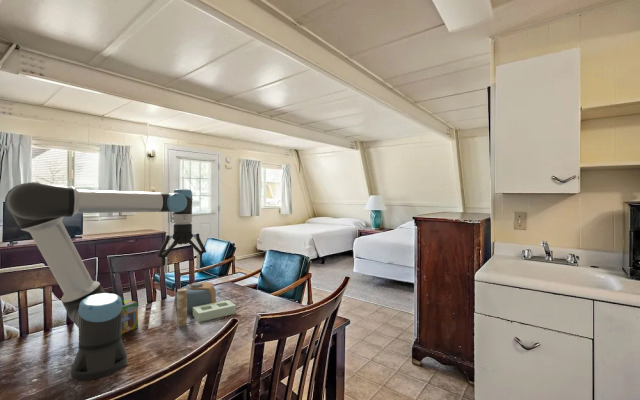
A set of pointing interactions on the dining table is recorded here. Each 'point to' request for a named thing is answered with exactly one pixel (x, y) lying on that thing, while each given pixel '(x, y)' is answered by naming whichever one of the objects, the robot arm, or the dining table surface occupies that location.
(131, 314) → the chalk box
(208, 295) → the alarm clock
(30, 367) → the dining table surface
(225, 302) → the socket block
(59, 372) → the dining table surface
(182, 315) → the peg
